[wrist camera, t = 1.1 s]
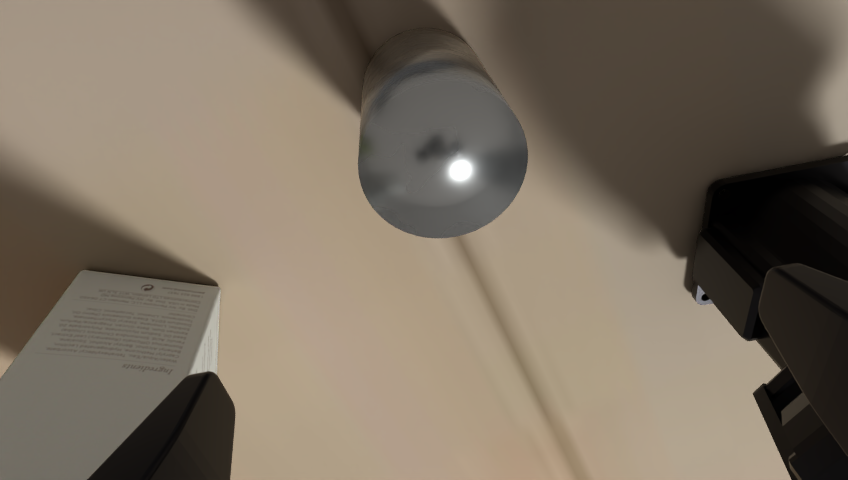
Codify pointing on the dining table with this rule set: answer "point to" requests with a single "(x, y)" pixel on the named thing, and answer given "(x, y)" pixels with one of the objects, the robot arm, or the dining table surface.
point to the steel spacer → (437, 137)
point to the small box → (101, 370)
